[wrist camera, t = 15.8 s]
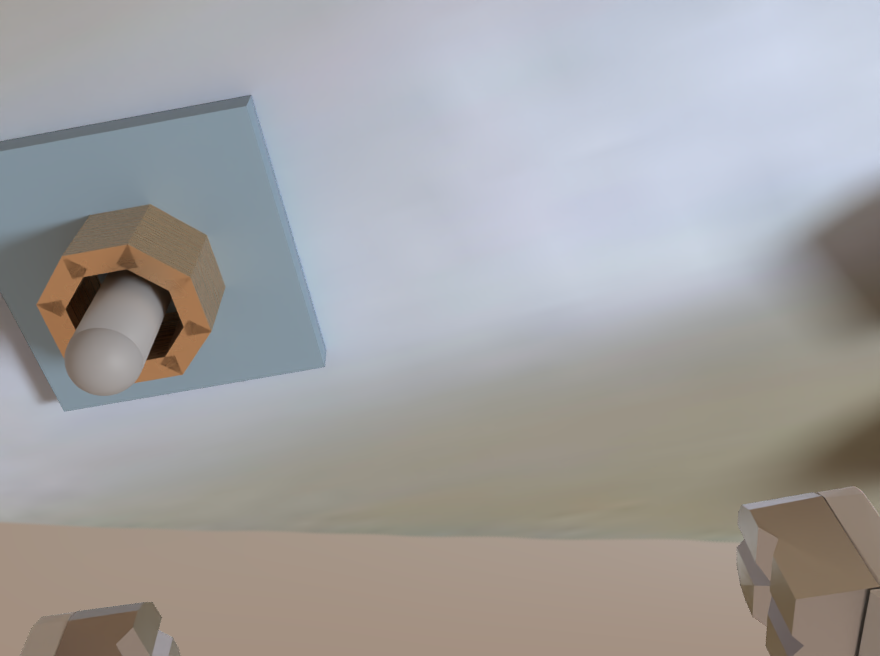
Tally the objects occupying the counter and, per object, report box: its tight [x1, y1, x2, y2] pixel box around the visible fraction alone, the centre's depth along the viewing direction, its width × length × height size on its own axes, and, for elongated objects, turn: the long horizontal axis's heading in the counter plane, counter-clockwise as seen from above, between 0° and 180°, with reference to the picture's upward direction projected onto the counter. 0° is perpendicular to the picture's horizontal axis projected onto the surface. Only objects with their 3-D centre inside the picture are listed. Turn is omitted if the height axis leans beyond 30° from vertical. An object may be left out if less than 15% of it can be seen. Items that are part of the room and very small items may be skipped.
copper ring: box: [36, 204, 226, 383], centre depth 38 cm, size 7×7×4 cm
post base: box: [0, 95, 326, 412], centre depth 37 cm, size 14×14×10 cm
